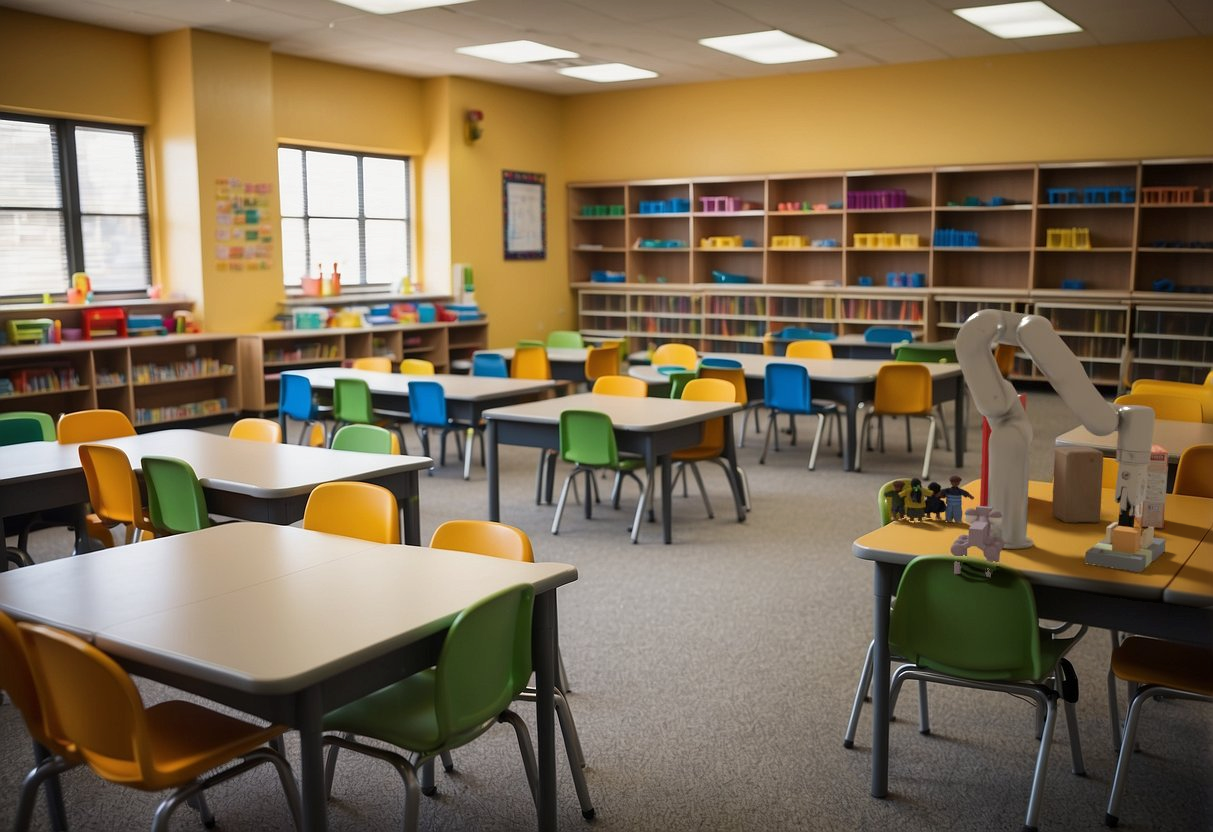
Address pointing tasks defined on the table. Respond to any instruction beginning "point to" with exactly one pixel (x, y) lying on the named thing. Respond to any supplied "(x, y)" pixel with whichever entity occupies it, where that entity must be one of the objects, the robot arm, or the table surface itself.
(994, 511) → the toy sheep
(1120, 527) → the cube
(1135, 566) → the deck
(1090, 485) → the wooden block
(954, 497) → the doll family
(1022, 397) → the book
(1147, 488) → the cracker box
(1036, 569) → the table surface
